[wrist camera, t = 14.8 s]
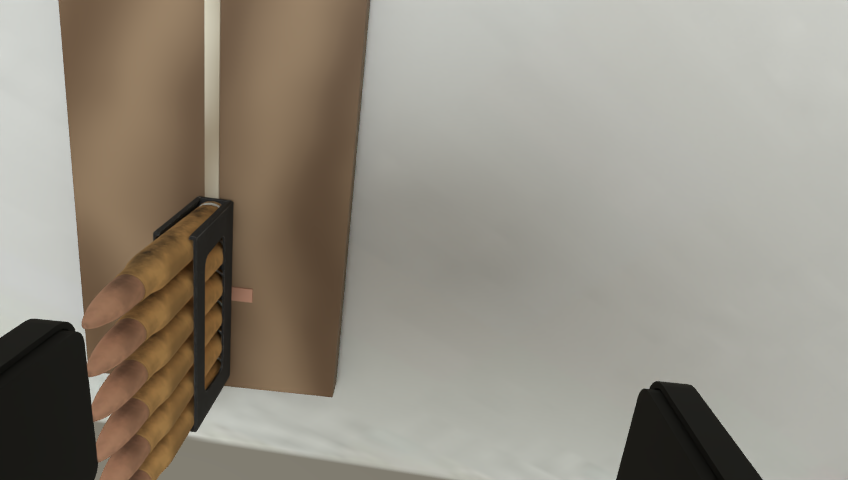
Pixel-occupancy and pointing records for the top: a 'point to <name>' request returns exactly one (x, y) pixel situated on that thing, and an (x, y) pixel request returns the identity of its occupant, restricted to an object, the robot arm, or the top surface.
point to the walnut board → (224, 157)
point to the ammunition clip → (163, 340)
